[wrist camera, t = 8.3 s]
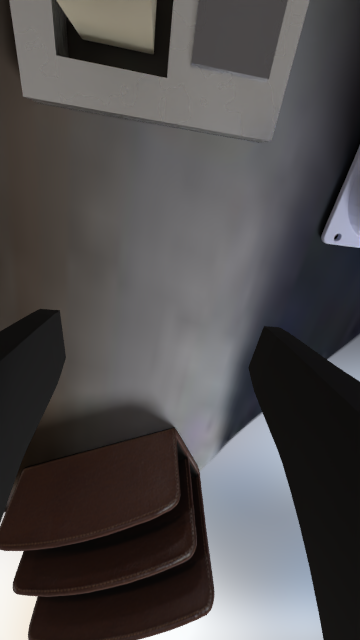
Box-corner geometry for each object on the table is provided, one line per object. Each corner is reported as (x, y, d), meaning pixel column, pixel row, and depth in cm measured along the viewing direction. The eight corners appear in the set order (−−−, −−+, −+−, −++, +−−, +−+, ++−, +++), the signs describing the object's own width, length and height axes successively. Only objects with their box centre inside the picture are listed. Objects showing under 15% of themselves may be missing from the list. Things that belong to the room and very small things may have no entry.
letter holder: (199, 466, 35) (220, 628, 23) (67, 499, 37) (25, 661, 25) (175, 424, 29) (186, 608, 17) (22, 465, 32) (-58, 652, 20)
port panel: (316, -89, 11) (350, -141, 9) (258, 142, 15) (273, 140, 13) (5, -187, 9) (-36, -278, 7) (40, 103, 13) (20, 95, 11)
